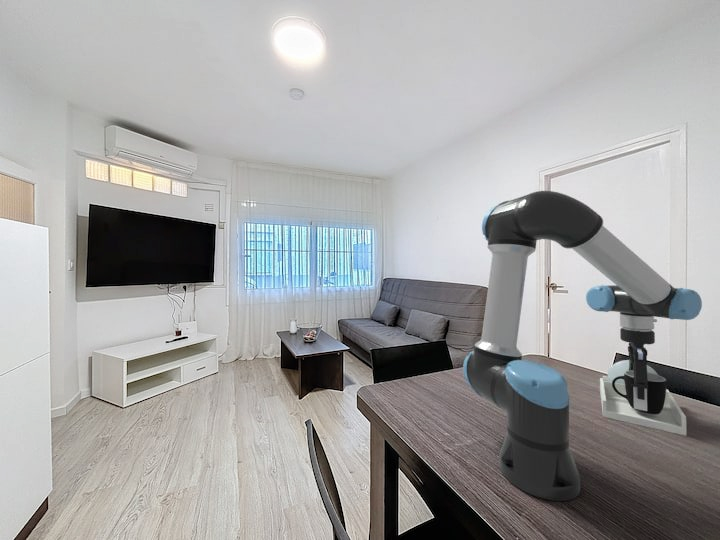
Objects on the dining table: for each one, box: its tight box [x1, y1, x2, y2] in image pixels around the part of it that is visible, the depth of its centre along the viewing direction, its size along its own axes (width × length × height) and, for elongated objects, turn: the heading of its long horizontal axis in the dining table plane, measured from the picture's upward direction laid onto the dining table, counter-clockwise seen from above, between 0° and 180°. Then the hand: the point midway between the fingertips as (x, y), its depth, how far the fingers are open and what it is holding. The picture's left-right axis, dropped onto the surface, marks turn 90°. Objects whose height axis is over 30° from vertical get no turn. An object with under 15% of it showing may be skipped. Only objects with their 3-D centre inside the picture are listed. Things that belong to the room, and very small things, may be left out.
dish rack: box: [599, 375, 687, 437], centre depth 91 cm, size 22×17×6 cm
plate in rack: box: [607, 359, 659, 384], centre depth 96 cm, size 1×13×13 cm, turn 52°
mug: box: [612, 371, 667, 414], centre depth 88 cm, size 12×9×10 cm
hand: (638, 403), depth 87 cm, fingers closed on mug, 9 cm apart
